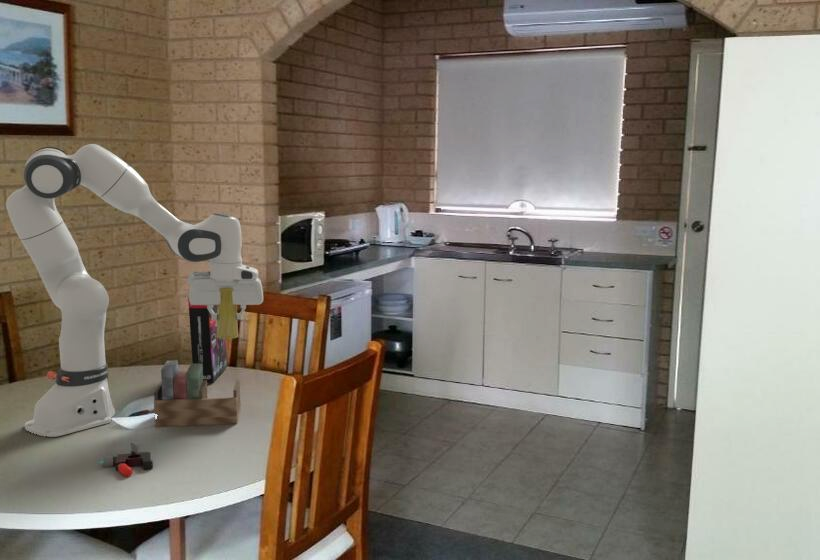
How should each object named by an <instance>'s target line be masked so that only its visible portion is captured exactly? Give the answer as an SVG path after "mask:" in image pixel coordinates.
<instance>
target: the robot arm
mask: <svg viewBox="0 0 820 560" xmlns="http://www.w3.org/2000/svg"><path fill="white" fill-rule="evenodd" d="M23 180H24V183H25V184H24V186H23V187H21V188H19V189H17V190H15V191H13V192H12V193H11V194H10V195H9V196H8V198H7V199H6V202H5V208H6V210H7V215H8V217H9V219H10V222H11V224H12V226H13V228H14V230H15V233H16V234H17V236H18V238H19V240H20V242H21V243H22V245H23V248H24V249H25V250H26V252H27V254H28V256H29V257H30V258H31V259H30V260H32V263H33V265H34V266H35V268H36V270H37V272H38V275H39V277H40V280H42V281H41V282H42V284H43V286H44V288H45V290H46V292H47V293H48V295H49V297H50V300H51V302H52V303H53V304H54V306H55V307H57V308H59V309H60V311H61V326H60V327H61V329H60V336H59V337H58V346H59V360H60V367H59V369H58V373H57V372H56V371H52V370H50V371H47V373H46V378H48V379H49V380H53V381H54V380H55V384H53V385H52V387H51V388H50V389H49V390H47V392H46V393H45V394H44V395H42V396H41V398H40V399H39V400H38V401H36V403H35V405H34V410H33V418H32V419H31V420H28V421H26V422H24V430H26V431H27V432H28V431H29V433H30V432H31V434H33V433H34V434H33V435H36V434H37V435H36V436H41V437H46V436H47V437H48V438H49V437H50V438H56V437H60V436H64V435H67V434H72V433H77V432H79V431H83V430H87V429H91V428H95V427H99V426H102V425H106V424H109V423H111V422H112V421H111V419H112V418H113V417H114V416H115V414H116V410H115V407H114V405H113V403H112V402H113V401H112V399H111V393H110V389H109V383H108V380H109V367H108V363H107V361H106V348H105V328H106V321H107V320H106V319H107V310H108V308H109V305H110V297H109V294H108V291H107V289H106V288H105V286H104V285H103V284H102V283H101V282H100V281H98V280H97V279H94V278H92V276H91V275H90V274H89V273H88V271H87V270H86V267H85V265H84V263H83V260H82V257H81V254H80V251H79V248H78V246H77V243H76V242H75V240H74V238H73V235H72V234H71V232H70V230H69V229H68V227H67V224H66V223H65V222H64V220H63V217H62V216H61V214H60V213H59V210H58V208H57V206H56V203H55V199H56V198H60V197H62V196H64V195H65V194H67V193H69V192H70V191H73V190H74V189H76V188H78V187H79V186H82V187H85V188H87V189H88V190H89V191H91V192H92V193H93V194H95V195H96V196H97V197H98V198H100V199H101V200H102V201H104V202H105V203H107V204H109V205H110V206H111V207H114V209H117V210H119V211H121V212H123V213H125V214H130V215H132V216H135V217H137V218H139V219H141V220H142V221H143V222H144V223H146V224H147V225H149V226H150V227H151V228H153V229H154V230H155V231H156V232H157V233H158V234H160V235H161V236H162V237H163V238H164V240H165V242H166V244H167V246H168V248H169V250H170V251H171V252H172V253H173V254H174V255H175V256H177V257H180V258H182V259H183V260H184V261H187V262H189V263H200V262H204V261H207V260H209V271H193V272H192V273H190V274H189V275H188V278H187V280H188V281H187V282H188V284H187V285H188V286H189V287H190V288H189V297H188V298H189V302H190V303H191V304H192V305H207V309H208V311H209V312H210V314H211V315H212V320H217V313H214V311H213V310H212V308H213V305H220V303H221V291H220V290H219V288H233V291H232V298H233V305H237V306H240V309H241V310H240V312H237V321H243V314H244V313H245V311H246V308H247V305H249V306H255V305H256V306H257V305H258V306H259V305H261V304H262V303H263V302H264V290H263V285H262V281H261V279H260V278H259V270H258V269H257V268H255V267H252V266H251V267H250V266H248V265H245V264H243V258H242V252H241V251H242V248H243V239H242V237H243V236H242V235H243V234H242V227H241V223H240V221H239V219H238V218H237V217H236V216H233V215H231V214H230V215H229V214H225V213H218V212H217V213H216V212H215V213H212V214H211V215H210V216H209V217H207V218H205V219H204V220H202V221H201V222H198V223H196V224H194V223H191V222H188V221H184V220H181V219H179V218H177V217H176V216H174V214H173V213H171V212H170V211H168V210H167V209H166V208H165V207H164V206H163V205H161V204H160V203H159V202H158V201H157V200H156V199H155V198H154V197H153V195H152V193H151V190H150V188H149V185H148V183H147V182H146V180H144V177H142V176H141V175H140V174H139V172H138V171H136V170H135V168H133V167H132V166H130V165H129V164H128V163H127V162H125V160H123V159H121V158H120V157H118V156H117V155H116V154H114V153H113V152H111V151H110V150H108V149H106V148H105V147H103V146H101V145H100V144H96V143H89V144H86V145H83V146H81V147H80V148H78V150H77V151H76V152H74V153H73V154H70V155H69V154H67V153H66V152H65V151H64V150H62V149H60V148H58V147H52V146H45V147H40V148H39V149H37V150H35V151H34V152H33V153H32V154H31V155H30V156H29V158H28V159H27V160H26V162H25V166H24V170H23ZM111 417H112V418H111Z"/></svg>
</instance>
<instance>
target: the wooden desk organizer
mask: <svg viewBox="0 0 820 560" xmlns="http://www.w3.org/2000/svg"><path fill="white" fill-rule="evenodd" d="M178 361H179V360H166V362H165V363H164V365H163V366H162V368H161V370H160V374H161V376H160V377H161V379H160V380H161V381H160V382H159V384H158V385H157V388H156V389H155V391H154V392H153V399H154V400H153V410H154V411H153V413H154V414H157V415H158V416H157V419H156V420H155V419H154V426H155V427H156V428H157V427H158V428H159V427H160V428H161V427H182V426H183V427H184V426H185V427H186V426H187V425H189V426H202V425H201V424H215V425H232V424H231V423H237V424H238V422H239V418H240V415H239V414H241V410H242V409H241V407H242V406H241V403H242V402H241V390H240V389H241V385H240V381H241V380H240V378H237V379H236V380H235V383H234V387H233V390H232V391H233V394H232V395H233V397H211V398H210V397H209V398H208V383H207V380H204V381H203V365H202V363H198V364H193V363H190V365H189V367H188V369H187V370H185V371H184V370H183V371H179V362H178ZM199 424H200V425H199Z"/></svg>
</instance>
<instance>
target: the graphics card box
mask: <svg viewBox="0 0 820 560" xmlns="http://www.w3.org/2000/svg"><path fill="white" fill-rule="evenodd" d="M187 298H188V299H187V301H188V315H189V316H188V317H189V331H190V335H189V336H190V345H191V361H192V363H191V364H198V363H202V365H203V381H204V380H207V384H213V383H215V381H216V380H217V379H218V378H219V377H220V376H221V375H222V373H224V371H225V370H227V368H228V356H227V342H226V341H227V339H220V338H217V337H216V335H217V320H212V315H211V314H210V312H209V311H208V309H207V305H192V304H191V303H190V302H189V297H187ZM212 310H213V311H214V313H217V305H213V308H212Z"/></svg>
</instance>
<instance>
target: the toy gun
mask: <svg viewBox="0 0 820 560" xmlns="http://www.w3.org/2000/svg"><path fill="white" fill-rule="evenodd" d="M130 449H131V451H130V452H129V453H119V454H116V455H115V456H114V455H108V456H106V455H105V456H103V460H102V461H99V462H98V463H99V464H103V468H110V467H114V466H115V472H119V473H120V474H122V476H124V477H127V478H128V477H130V476H132V474H133V468H134V467H141V468H142V469H143V470H144V471H146V470H147V471H148V470H153V468H154V464H153V461H152V459H151V452H150V451H140V452H139V445H138V444H137V443H135V442H134V441H131V442H130Z"/></svg>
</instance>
